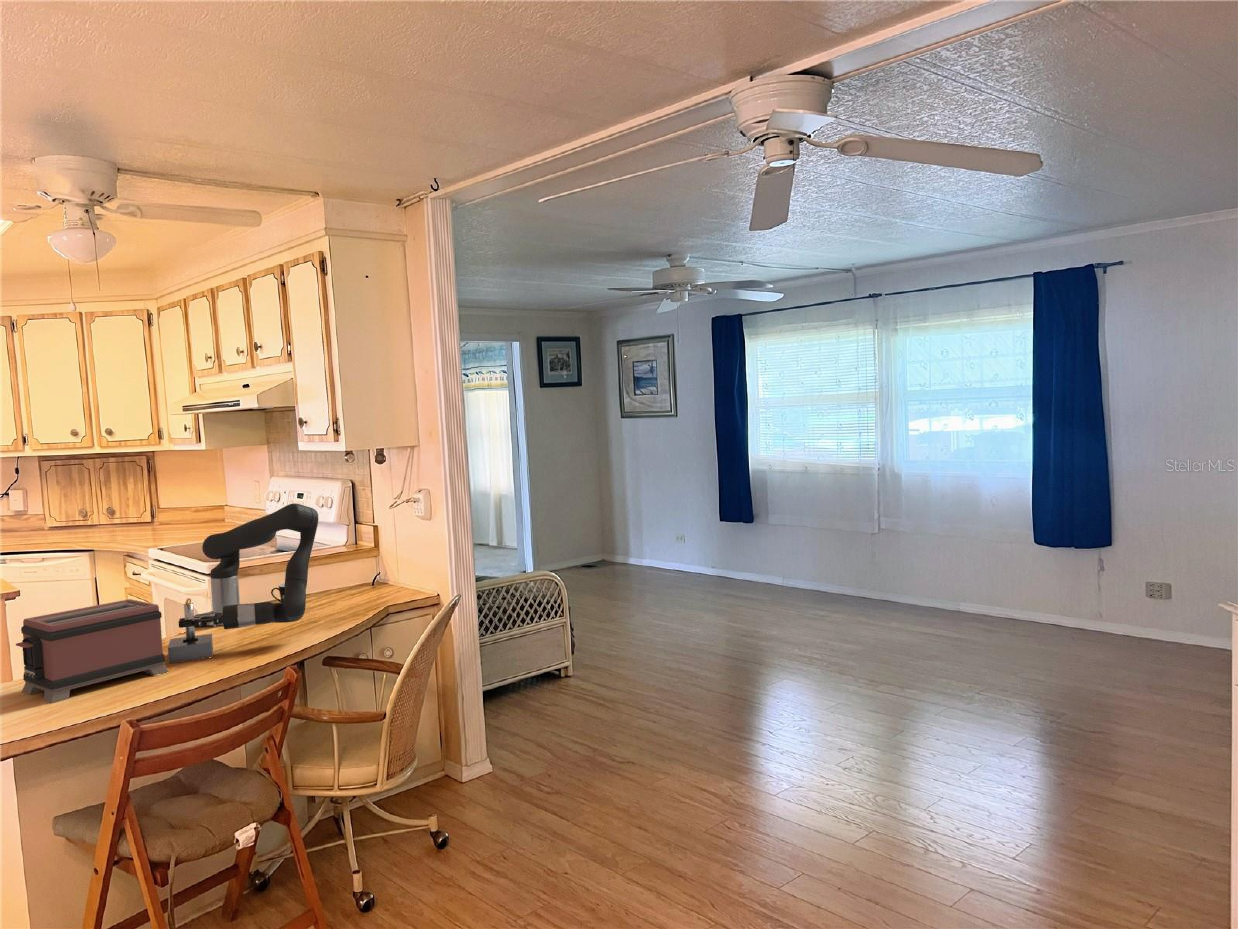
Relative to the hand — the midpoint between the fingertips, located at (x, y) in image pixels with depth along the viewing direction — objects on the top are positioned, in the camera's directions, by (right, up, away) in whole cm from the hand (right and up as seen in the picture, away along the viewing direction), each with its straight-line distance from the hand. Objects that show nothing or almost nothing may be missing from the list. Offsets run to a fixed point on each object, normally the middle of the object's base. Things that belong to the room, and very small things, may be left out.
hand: (179, 623), depth 265 cm
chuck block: (+3, -11, +2) cm, 11 cm away
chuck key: (+3, -9, +2) cm, 9 cm away
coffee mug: (+9, -7, +65) cm, 66 cm away
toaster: (-13, -13, -23) cm, 30 cm away
